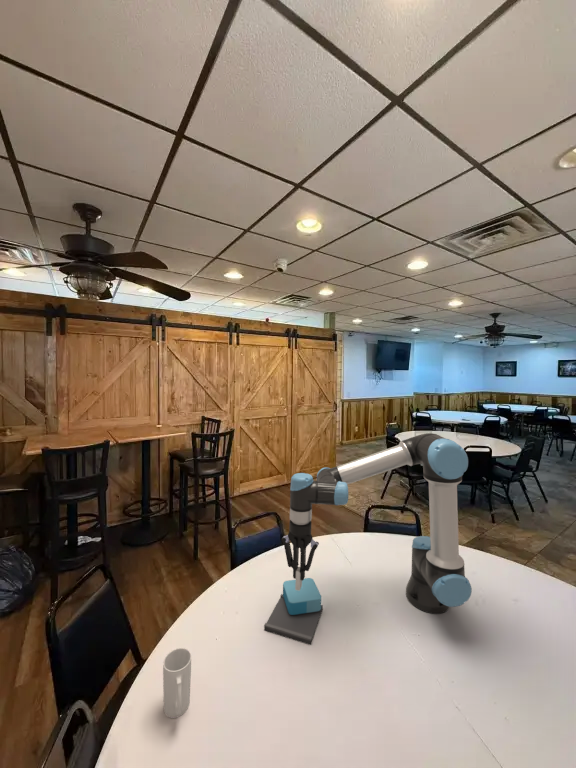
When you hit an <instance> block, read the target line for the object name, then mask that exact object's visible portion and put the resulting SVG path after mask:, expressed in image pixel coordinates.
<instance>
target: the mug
mask: <svg viewBox="0 0 576 768" xmlns="http://www.w3.org/2000/svg"><path fill="white" fill-rule="evenodd" d="M162 663H163V664H162V676H163V677H162V681H163V682H162V685H163V686H162V687H163V697H162V698H163V699H162V700H163V701H162V702H163V712H164V714H165V716H166V717H168V718H170V719H171V718H172V719H174V718H175V719H176V718H179V717H180V716H183V714H184V713H186V711H187V710H188V709H189V706H190V701H191V700H190V699H191V698H190V697H191V677H192V653H191V651H190V650H189V649H188V648H186V647H178V648H174V649H172V650H171V651H169V652H168V653H167V654H166V655H165V656H164V659H163V662H162Z"/></svg>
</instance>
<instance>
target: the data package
mask: <svg viewBox="0 0 576 768" xmlns="http://www.w3.org/2000/svg"><path fill="white" fill-rule="evenodd" d="M295 585H296V579H290V580H285V581H283V583H282V594H283V597H284V600H285V603H286V606H287V610H288V613H289V614H291V615H297V614H303V613H310V612H317V611H320V610H321V605H322V595H321V592H320V590H319V588H318V586H317V584H316V582H315V580H314V579H313V578H311V577H305V578H304V580H302V587H301V589H300V591H298V590H295Z"/></svg>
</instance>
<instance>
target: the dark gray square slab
mask: <svg viewBox="0 0 576 768" xmlns="http://www.w3.org/2000/svg"><path fill="white" fill-rule="evenodd" d="M323 610H324V605H323V604H321V610H320V611H317V612H310V613H303V614H297V615H291V614H289V613H288V610H287V606H286V603H285V600H284V597H283V593H281V594H280V598H279V599H278V601H277V603H276V604H275V607H274V608H273V610H272V612H271V614H270V616H269V618H268V619H267V621H266V622H265V623H264V625H263V628H264V630H263V631H265V632H269V633H271V634H275V635H278V636H280V637H284V638H287V639H290V640H293V641H297V642H300V643H303V644H306V645H310V646H311V645H312V643H313V640H314V638H315V634H316V632H317V628H318V626H319V624H320V623H319V622H320V619H321V616H322V614H323Z"/></svg>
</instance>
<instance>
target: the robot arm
mask: <svg viewBox="0 0 576 768" xmlns="http://www.w3.org/2000/svg"><path fill="white" fill-rule="evenodd" d="M406 465H407V466H410V467H412V466H415V465H422V466H423V467H422V468H423V478H424V479H425V481H426V482H428V499H429V500H428V502H429V503H428V505H429V510H428V511H429V532H430V533H429V534H430V535H429V536H427V535H420V536H419V535H418V536H416V537H414V538H413V540H412V545H411V575H410V577H409V579H408V581H407V584H406V587H405V595H406V599H407V600H408V602H409V603H410V604H411V605H412V606H414V607H415V608H417V609H419V611H423V612H426V613H429V614H436V615H437V614H442V613H446V612H447V611H448V610H449V609H450V607H451V608H455V607H457V608H458V607H460V606H462V605H464V604H465V603H466V602H468V601H469V599H470V598H471V596H472V591H473V590H472V584H471V583H470V581H469V579H468V577H466V575H465V573H466V571H465V560H464V558H463V557H462V556H461V555H460V551H459V548H460V546H459V519H458V518H459V515H458V513H459V512H458V485H459V484H460V483H462V481H463V475H464V473H465V472H466V471H467V470H468V467H469V457H468V454H467V453H466V451H465V449H464V448H463V447H462V446H461V445H460V444H458V443H457V442H455V441H454V440H452V439H450V438H446V437H443V436H441V435H439V434H437V433H432V432H431V433H428V432H427V433H421V434H418V435H416V436H412V437H409V438H407V439H403V440H401V441H399V443H398V445H395V446H392V447H389V448H386V449H383V450H381V451H380V450H379V451H377V452H375V453H372V454H368V455H366V456H363V457H359V458H358V459H354V460H352V461H349V462H347V463H344V464H340V465H338V466H334V467H331V468H330V467H322V468H321V469H319V470H318V472H317V474H316V480H314V478H313V476H312V474H309V473H305V472H298V473H294V474H293V475H292V476H291V478H290V489H289V491H290V493H289V496H290V497H289V529H288V530H289V531H288V534H287V535H286V534H284V535H283V537H282V538H281V542H282V544H283V547H284V552H285V557H286V561H287V566H288V567H289V568H292V570H293V571H292V578H293V580H296V585H295V590H298V591H300V589H301V587H302V580H304V579H305V578H306V572H309V570H310V568H311V566H312V563H313V559H314V555H315V552H316V550H317V548H318V547H319V544H320V543H319V541H315V540H314V539H313V534H312V520H313V519H312V516H313V513H312V512H313V505H329V506H330V505H332V506H344V505H345V506H346V505H347V504H348V502H349V485H351V484H354V483H356V482H359V481H362V480H365V479H368V478H371V477H374V476H377V475H380V474H382V473H386V472H389V471H391V470H395V469H398V468H400V467H403V466H406ZM291 544H292V546H291ZM309 545H310V551H309V554H308V558H307V557H306V556H307V547H308V546H309ZM291 547H292V548H291ZM292 550H293V552H292ZM299 554H300V560H299ZM306 559H307V560H306ZM306 561H307V562H306ZM299 563H300V564H299Z"/></svg>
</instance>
